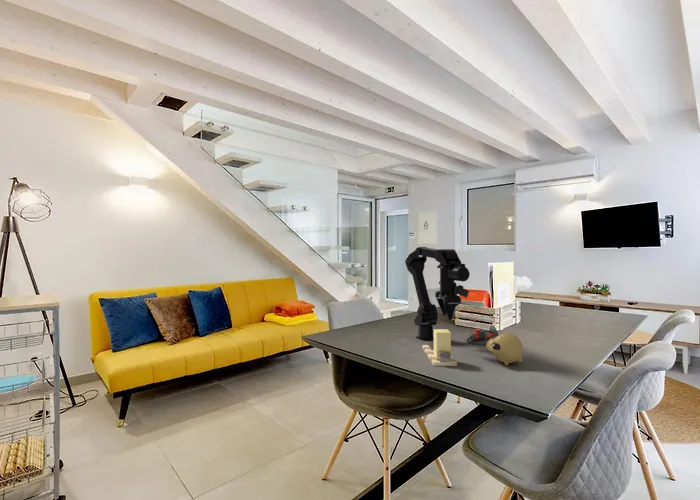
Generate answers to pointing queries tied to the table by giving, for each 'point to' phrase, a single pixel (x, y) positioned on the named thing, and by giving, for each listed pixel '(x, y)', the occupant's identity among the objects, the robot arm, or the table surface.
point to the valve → (482, 335)
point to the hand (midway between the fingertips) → (447, 317)
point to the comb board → (435, 361)
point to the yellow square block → (441, 341)
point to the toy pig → (506, 348)
